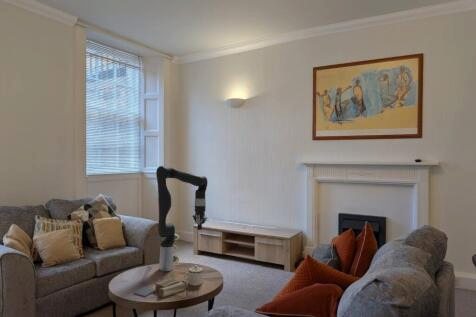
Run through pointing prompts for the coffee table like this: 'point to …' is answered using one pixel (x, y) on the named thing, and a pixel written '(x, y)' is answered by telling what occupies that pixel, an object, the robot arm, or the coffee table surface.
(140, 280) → the coffee table surface
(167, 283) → the tan rectangular block
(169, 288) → the cream long bar
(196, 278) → the teacup with lid
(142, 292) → the slate coaster
